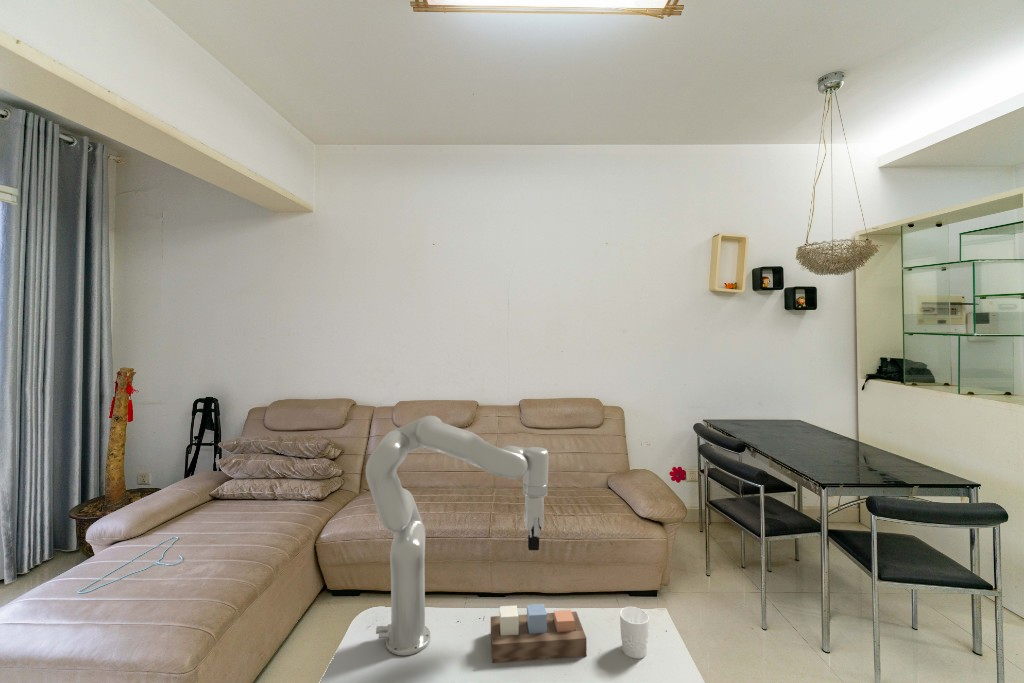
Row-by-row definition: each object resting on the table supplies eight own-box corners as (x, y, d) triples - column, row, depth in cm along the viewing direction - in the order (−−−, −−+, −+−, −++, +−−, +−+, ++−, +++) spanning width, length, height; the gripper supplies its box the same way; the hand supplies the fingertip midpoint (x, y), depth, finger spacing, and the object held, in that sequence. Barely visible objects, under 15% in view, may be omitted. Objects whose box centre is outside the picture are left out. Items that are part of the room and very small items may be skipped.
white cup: (650, 645, 125) (650, 610, 125) (646, 664, 118) (646, 627, 118) (622, 637, 128) (622, 603, 128) (617, 655, 121) (617, 619, 121)
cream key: (500, 638, 122) (500, 617, 122) (499, 627, 127) (499, 606, 127) (518, 637, 123) (518, 616, 123) (516, 626, 128) (516, 605, 128)
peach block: (557, 642, 124) (557, 621, 124) (554, 631, 129) (553, 610, 129) (574, 641, 124) (574, 620, 124) (570, 630, 129) (570, 609, 129)
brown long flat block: (492, 662, 118) (492, 644, 118) (490, 633, 130) (490, 616, 130) (586, 656, 121) (586, 638, 121) (576, 627, 133) (576, 611, 133)
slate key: (529, 636, 123) (529, 615, 123) (527, 625, 128) (526, 604, 128) (546, 635, 123) (546, 614, 123) (543, 624, 128) (543, 603, 128)
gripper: (520, 481, 141) (519, 538, 141) (525, 497, 126) (523, 561, 126) (544, 481, 141) (542, 538, 141) (551, 497, 126) (549, 561, 126)
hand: (533, 548), depth 133 cm, fingers closed
